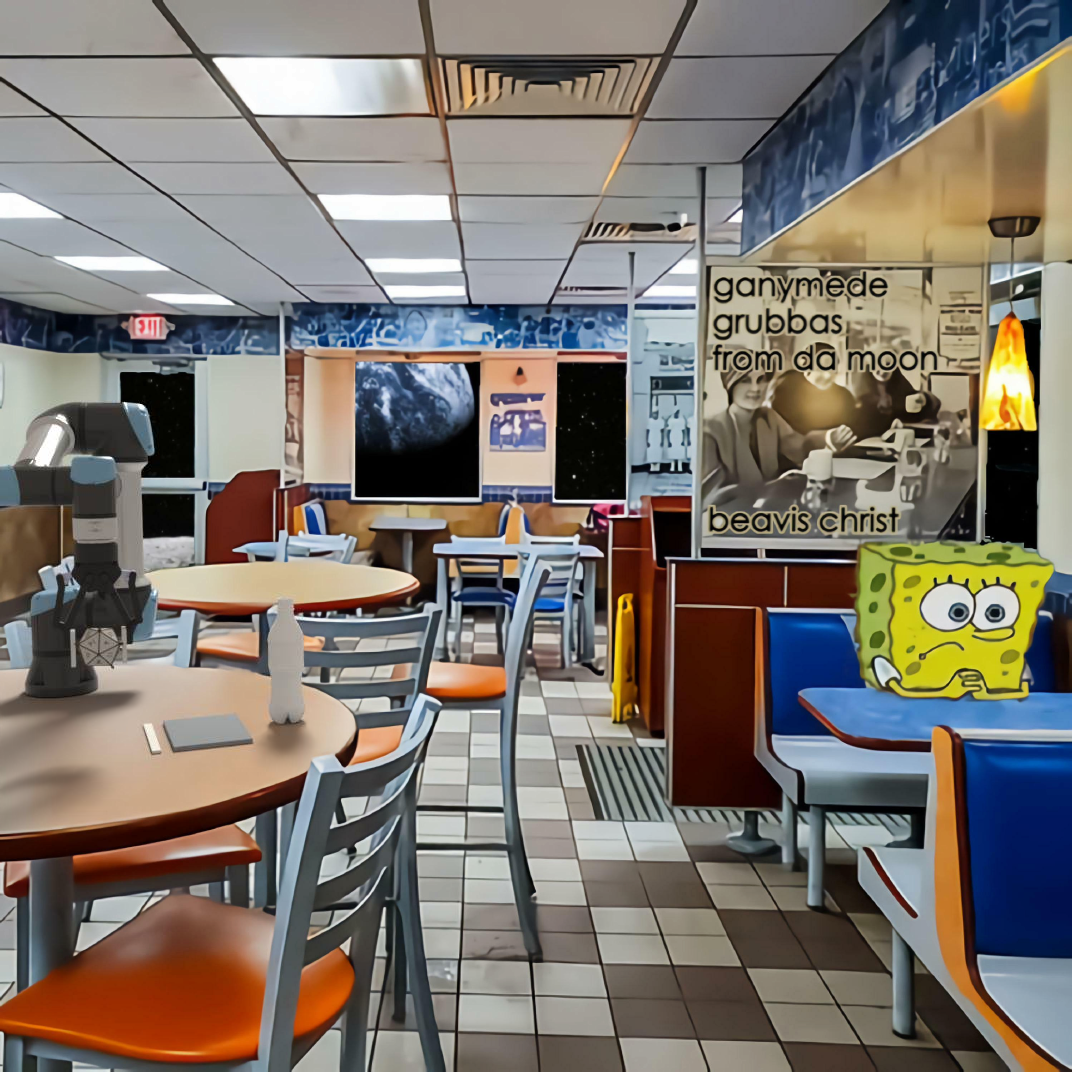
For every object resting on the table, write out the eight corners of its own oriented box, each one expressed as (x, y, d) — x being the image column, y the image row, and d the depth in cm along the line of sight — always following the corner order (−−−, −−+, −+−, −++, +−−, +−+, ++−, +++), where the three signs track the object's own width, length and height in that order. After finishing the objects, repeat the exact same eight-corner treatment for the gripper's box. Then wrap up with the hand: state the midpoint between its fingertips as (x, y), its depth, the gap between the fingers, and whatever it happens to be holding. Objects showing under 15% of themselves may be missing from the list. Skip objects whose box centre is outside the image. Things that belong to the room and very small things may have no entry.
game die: (102, 690, 193) (103, 652, 187) (63, 670, 194) (62, 632, 188) (133, 660, 200) (135, 623, 194) (95, 641, 201) (95, 604, 195)
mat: (163, 724, 209) (163, 720, 209) (235, 717, 215) (235, 713, 215) (174, 751, 191) (174, 747, 191) (252, 742, 197) (252, 738, 197)
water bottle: (312, 718, 215) (310, 596, 213) (292, 727, 208) (290, 601, 206) (281, 715, 217) (279, 595, 215) (261, 723, 210) (259, 599, 208)
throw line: (143, 726, 208) (143, 724, 208) (151, 725, 208) (151, 723, 208) (152, 753, 190) (152, 751, 190) (161, 752, 190) (161, 750, 190)
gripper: (31, 544, 185) (36, 672, 187) (157, 540, 193) (160, 663, 195) (33, 540, 191) (37, 664, 193) (154, 537, 200) (158, 655, 202)
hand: (99, 663), depth 194 cm, fingers closed on game die, 8 cm apart
